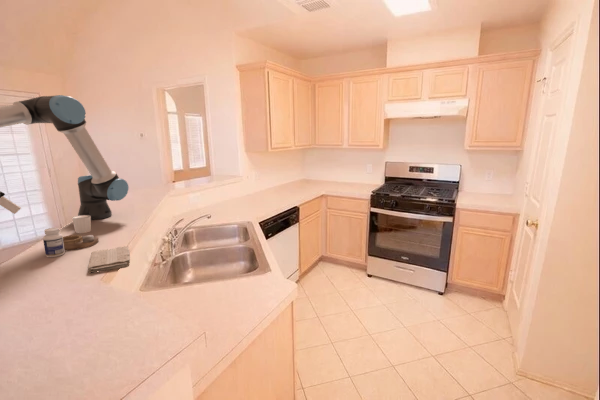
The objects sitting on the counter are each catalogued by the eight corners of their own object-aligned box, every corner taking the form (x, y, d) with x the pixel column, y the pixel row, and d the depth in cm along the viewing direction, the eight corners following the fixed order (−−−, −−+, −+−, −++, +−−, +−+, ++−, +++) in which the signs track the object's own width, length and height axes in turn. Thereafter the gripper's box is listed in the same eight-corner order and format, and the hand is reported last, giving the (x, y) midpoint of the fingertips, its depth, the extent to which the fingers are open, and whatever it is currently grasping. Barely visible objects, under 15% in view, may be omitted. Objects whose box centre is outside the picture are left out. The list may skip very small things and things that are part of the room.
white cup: (82, 234, 128) (80, 218, 127) (69, 232, 129) (67, 217, 128) (96, 229, 134) (94, 215, 133) (83, 228, 136) (82, 214, 134)
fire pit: (94, 236, 125) (93, 229, 125) (102, 244, 116) (101, 236, 115) (52, 243, 115) (51, 236, 115) (57, 253, 106) (56, 244, 105)
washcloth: (88, 276, 89) (86, 267, 89) (90, 257, 104) (90, 249, 104) (131, 268, 96) (131, 259, 95) (128, 251, 111) (128, 243, 110)
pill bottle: (48, 253, 105) (44, 227, 103) (66, 251, 108) (63, 226, 106) (43, 258, 101) (39, 232, 99) (62, 256, 103) (59, 230, 101)
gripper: (-45, 176, 100) (17, 215, 108) (-111, 184, 77) (-26, 233, 85) (-27, 160, 101) (33, 200, 109) (-86, 165, 78) (-5, 215, 87)
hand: (7, 215), depth 97 cm, fingers open, 13 cm apart
